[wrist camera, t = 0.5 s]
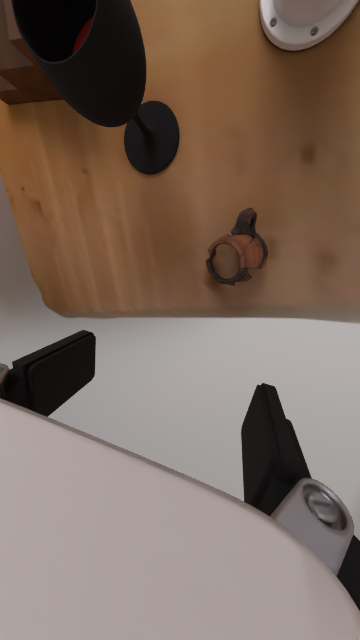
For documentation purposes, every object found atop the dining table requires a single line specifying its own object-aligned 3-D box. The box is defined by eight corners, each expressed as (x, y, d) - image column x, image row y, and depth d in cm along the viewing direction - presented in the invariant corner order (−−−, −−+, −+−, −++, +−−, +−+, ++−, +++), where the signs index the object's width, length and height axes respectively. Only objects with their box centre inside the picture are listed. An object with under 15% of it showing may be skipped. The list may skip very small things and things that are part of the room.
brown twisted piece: (265, 282, 36) (245, 295, 31) (222, 271, 41) (198, 281, 36) (284, 207, 29) (262, 209, 24) (230, 206, 35) (202, 207, 30)
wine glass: (158, 186, 36) (78, 103, 17) (115, 154, 36) (-9, 37, 17) (191, 124, 32) (133, -72, 13) (142, 88, 32) (19, -152, 14)
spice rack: (7, 104, 39) (-64, 54, 29) (-8, -5, 34) (-97, -105, 25) (97, 96, 34) (47, 33, 25) (94, -31, 30) (31, -166, 20)
